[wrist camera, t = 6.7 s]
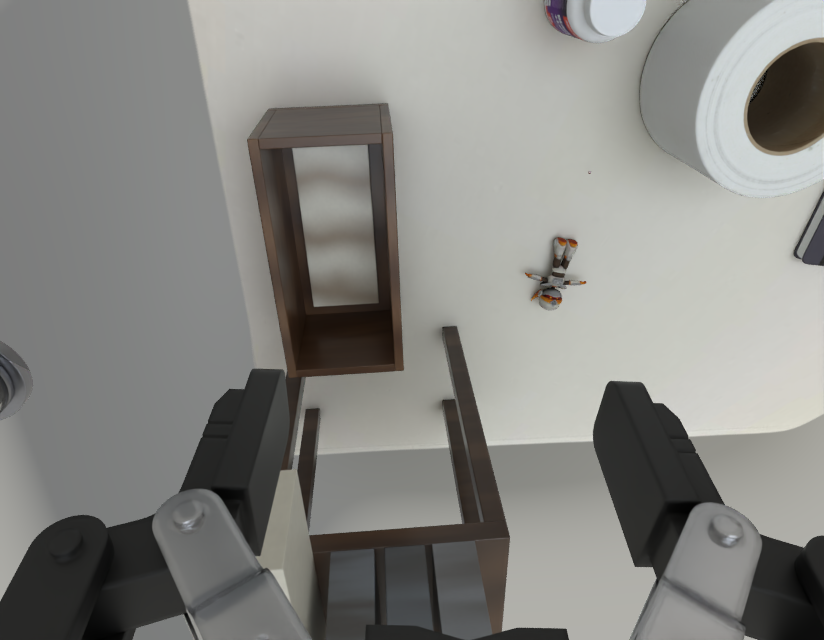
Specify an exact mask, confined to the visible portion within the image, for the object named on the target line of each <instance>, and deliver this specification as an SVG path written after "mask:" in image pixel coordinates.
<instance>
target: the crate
mask: <svg viewBox="0 0 824 640" xmlns="http://www.w3.org/2000/svg"><path fill="white" fill-rule="evenodd" d="M247 143H248V148H249V154H250V160H251V165H252V171H253V177H254V183H255V188H256V194H257V200H258V205H259V211H260V217H261V222H262V228H263V234H264V240H265V245H266V251H267V257H268V262H269V268H270V274H271V279H272V285H273V291H274V296H275V302H276V308H277V314H278V319H279V325H280V331H281V336H282V342H283V348H284V353H285V359H286V365H287V371H288V376H289V378H294V377H312V376H328V375H343V374H359V373H375V372H390V371H403V370H404V365H403V343H402V322H401V300H400V278H399V256H398V235H397V213H396V191H395V169H394V148H393V131H392V125H391V119H390V113H389V106H388V104H364V105H342V106H319V107H297V108H274V109H268V110H267V112H266V113H265V115H264V116H263V118H262V119H261V120H260V122H259V123H258V125H257V126H256V128H255V129H254V130H253V132H252V133H251V135H250V136H249V138H248V139H247Z"/></svg>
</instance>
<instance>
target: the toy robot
mask: <svg viewBox="0 0 824 640" xmlns="http://www.w3.org/2000/svg"><path fill="white" fill-rule="evenodd" d="M590 173H591V171H590V172H589V174H590ZM553 245H554V252H555V254H554V261H553V268H552V271H553V272H552V275H550V276H549V277H548V278H544V277H541V276H539V275H534V274H527V273H525V274H526V275H527V276H528V277H529V278H532V279H535V280H539V281H543V282H541V283H540V285H542V286H551V288H547V289H544V290H543V291H542V290H539V291H538V292H537V293H536V294H535V295H534V296H533V297H532V299H531V301H532V300H533V299H534V298H535V297H539V304H540V306H541V307H542V308H544V309H546V310H554V309H557V308H558V307H559V305H560V303H561V302H562V295H561V293H560V291H558V290H556V289H555V287H558V288H561V289H567V288H566V286H565V285H581V284H585V283H586V281H584V282H582V281H575V280H569V281H564V280H565V278H564V275H565V273H566V269H567V267H568V265H569V262H570V260H571V259H572V256H573V254H574V253H575V251H576V249H577V247H578V244H577V242H576V241H575V240H572V239H568V240H565V239H563V238H559V237H558V238H556V239H555V240H554V243H553ZM563 252H564V253H565V255H564V258H563V260H562V262H561V258H562V254H563ZM560 263H561V265H560Z"/></svg>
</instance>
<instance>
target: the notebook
mask: <svg viewBox="0 0 824 640" xmlns="http://www.w3.org/2000/svg"><path fill="white" fill-rule="evenodd" d="M794 256H795V257H796V258H798V259H802V261H803V262H804V263H805V264H811V265H820V266H824V192H823V195H822V197H821V199H820V201H819V203H818V205H817V207H816V209H815V211H814V213H813V215H812V217H811V219H810V221H809V223H808V225H807V227H806V229H805V231H804V233H803V235H802V237H801V239H800V241H799V243H798V245H797V247H796V249H795V252H794Z"/></svg>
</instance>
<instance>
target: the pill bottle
mask: <svg viewBox="0 0 824 640" xmlns="http://www.w3.org/2000/svg"><path fill="white" fill-rule="evenodd" d="M544 5H545V12H546V16H547V18H548V20H549V22H550V23H551V25H552V26H553V27H554V28H555V29H557V30H558V31H560V32H561V33H564V34H567V35H569V36H572V37H575V38H578V39H581V40H584V41H587V42H592V43H603V42H608V41H611V40H613V39H615V38H617V37H618V36H621V35H623V34H626V33H627V32H629V31H630V30H632V29H633V28H634V27H635V26H636V25H637V23H638V22H639V21H640V19H641V17H642V15H643V13H644V10H645V6H646V0H545V1H544Z"/></svg>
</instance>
